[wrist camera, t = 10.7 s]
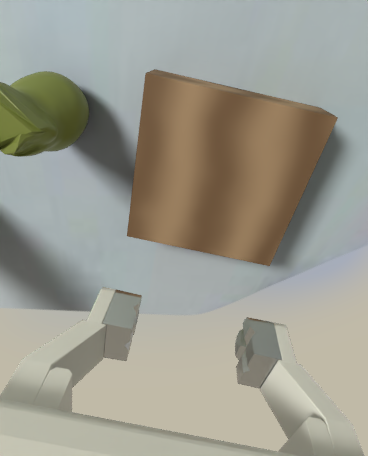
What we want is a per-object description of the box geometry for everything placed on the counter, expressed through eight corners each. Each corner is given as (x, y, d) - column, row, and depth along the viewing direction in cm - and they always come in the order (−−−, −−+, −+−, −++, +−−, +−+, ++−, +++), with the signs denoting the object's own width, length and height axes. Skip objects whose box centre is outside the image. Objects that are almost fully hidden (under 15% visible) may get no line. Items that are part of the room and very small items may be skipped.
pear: (25, 103, 26) (-65, 130, 18) (55, 53, 24) (-31, 57, 15) (77, 147, 28) (18, 191, 19) (110, 105, 26) (60, 134, 17)
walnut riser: (320, 107, 24) (337, 117, 21) (263, 242, 32) (269, 265, 28) (155, 69, 24) (145, 73, 21) (136, 215, 31) (126, 236, 28)
